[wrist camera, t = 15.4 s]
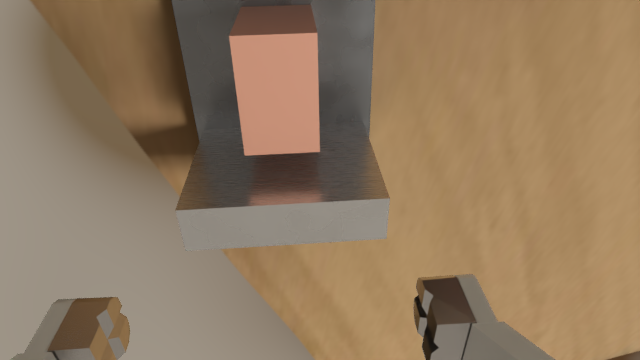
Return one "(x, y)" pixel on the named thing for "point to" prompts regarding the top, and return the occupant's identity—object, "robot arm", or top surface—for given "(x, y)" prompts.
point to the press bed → (332, 57)
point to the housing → (276, 79)
